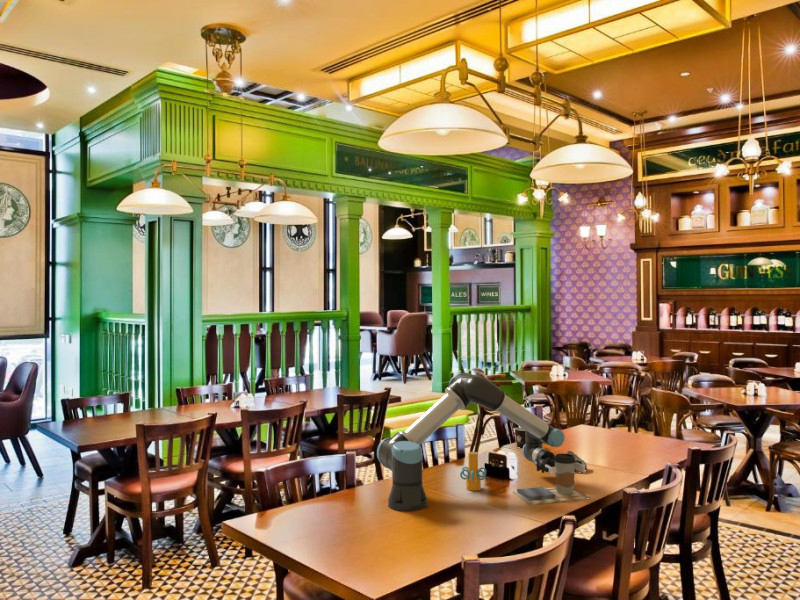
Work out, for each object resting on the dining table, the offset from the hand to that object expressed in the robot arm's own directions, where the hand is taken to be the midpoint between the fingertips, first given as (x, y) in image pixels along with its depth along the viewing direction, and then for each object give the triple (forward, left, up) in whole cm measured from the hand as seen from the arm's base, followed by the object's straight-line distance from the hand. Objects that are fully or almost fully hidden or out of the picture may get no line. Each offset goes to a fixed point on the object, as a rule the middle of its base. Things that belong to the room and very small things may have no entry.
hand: (569, 470), depth 255 cm
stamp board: (-7, +3, -10) cm, 13 cm away
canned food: (+23, +36, -11) cm, 45 cm away
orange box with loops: (-33, +21, -11) cm, 40 cm away
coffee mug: (+20, +84, -11) cm, 87 cm away
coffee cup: (0, +3, -10) cm, 10 cm away
